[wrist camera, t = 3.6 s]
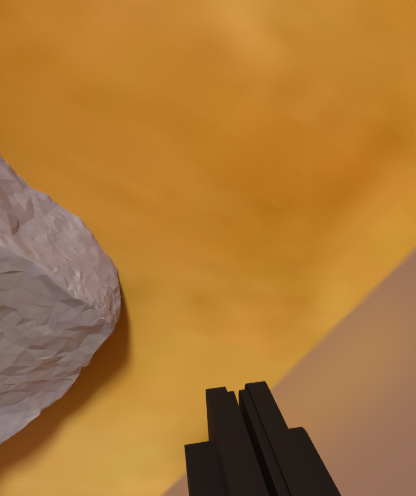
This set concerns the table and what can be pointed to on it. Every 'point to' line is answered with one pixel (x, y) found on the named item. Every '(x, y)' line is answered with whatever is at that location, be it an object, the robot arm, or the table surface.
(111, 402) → the table surface
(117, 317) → the stone block
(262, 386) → the robot arm
